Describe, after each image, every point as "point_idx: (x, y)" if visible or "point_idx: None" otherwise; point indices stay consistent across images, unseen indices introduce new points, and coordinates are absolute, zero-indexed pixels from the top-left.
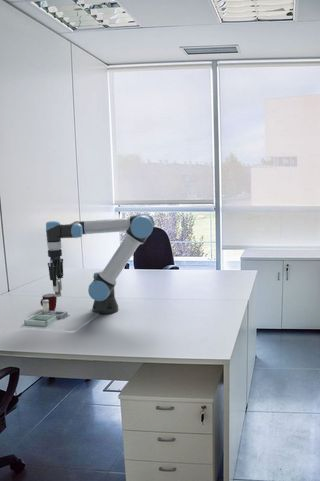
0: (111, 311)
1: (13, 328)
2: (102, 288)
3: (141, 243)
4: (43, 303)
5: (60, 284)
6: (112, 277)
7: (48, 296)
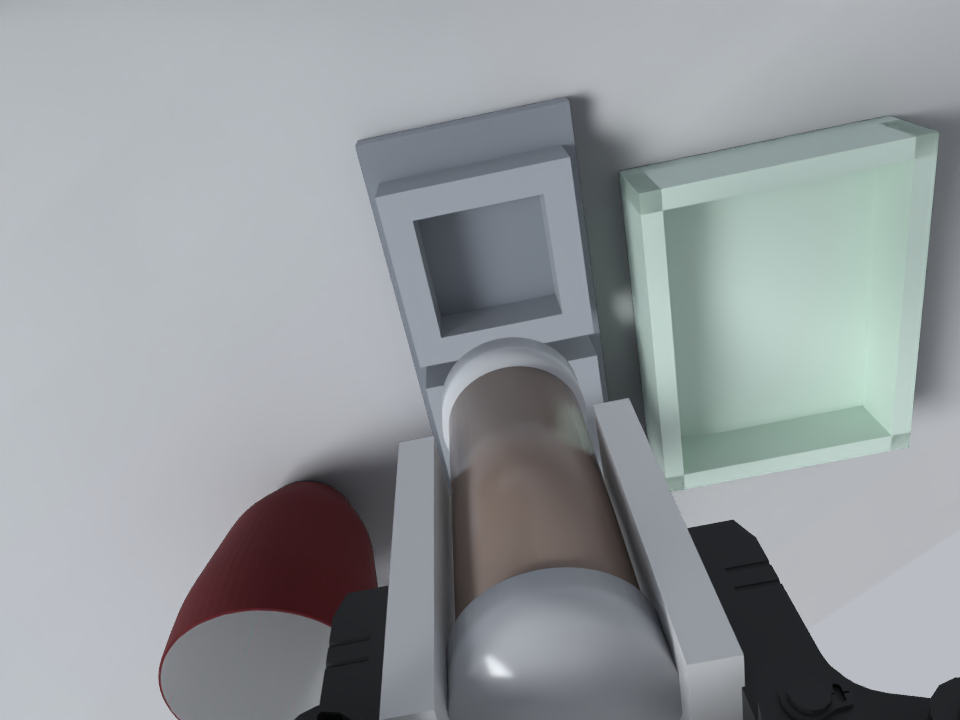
0: None
1: (955, 455)
2: None
3: None
4: None
5: (437, 553)
6: None
7: (227, 704)
